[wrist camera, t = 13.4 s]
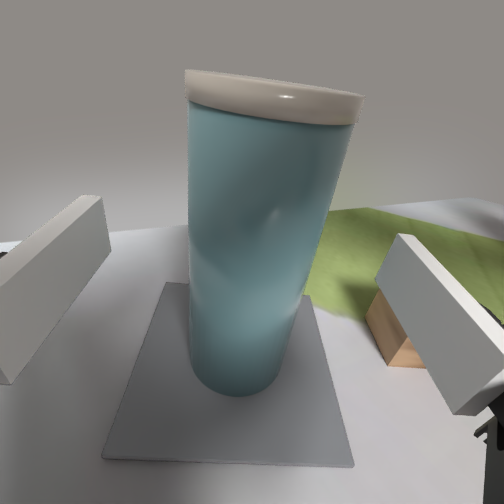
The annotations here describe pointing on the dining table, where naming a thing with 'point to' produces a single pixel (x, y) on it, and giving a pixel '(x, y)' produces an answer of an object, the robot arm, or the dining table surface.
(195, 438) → the mat
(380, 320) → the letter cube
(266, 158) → the jar
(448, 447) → the dining table surface
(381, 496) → the dining table surface
